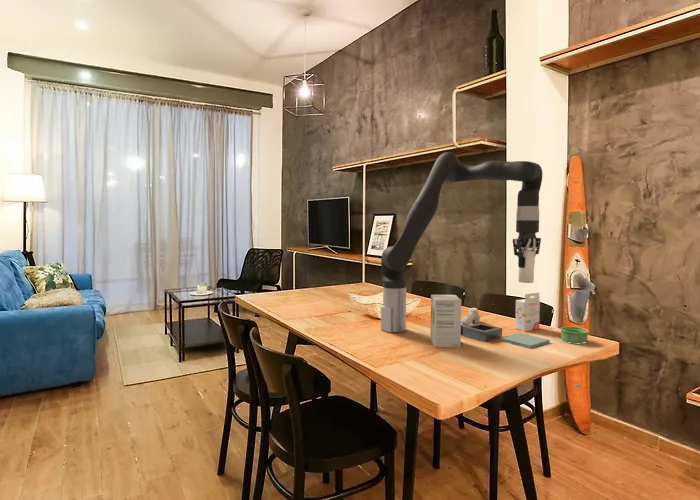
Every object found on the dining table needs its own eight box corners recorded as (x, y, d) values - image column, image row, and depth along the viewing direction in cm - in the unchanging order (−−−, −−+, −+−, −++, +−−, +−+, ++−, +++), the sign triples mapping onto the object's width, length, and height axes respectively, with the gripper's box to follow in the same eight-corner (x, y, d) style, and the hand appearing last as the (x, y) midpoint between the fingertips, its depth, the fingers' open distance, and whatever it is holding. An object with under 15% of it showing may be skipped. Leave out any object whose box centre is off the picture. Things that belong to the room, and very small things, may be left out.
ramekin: (575, 346, 152) (576, 333, 151) (554, 339, 160) (554, 327, 159) (594, 343, 155) (594, 331, 155) (572, 336, 163) (572, 325, 163)
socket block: (484, 341, 157) (485, 332, 156) (462, 335, 165) (463, 326, 165) (502, 337, 162) (502, 328, 162) (480, 331, 170) (480, 322, 170)
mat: (530, 348, 149) (530, 345, 149) (499, 340, 158) (500, 337, 158) (549, 342, 156) (549, 339, 155) (519, 335, 165) (519, 332, 165)
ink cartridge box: (529, 326, 179) (530, 290, 178) (539, 328, 175) (540, 292, 174) (514, 328, 175) (515, 292, 174) (524, 331, 171) (525, 294, 170)
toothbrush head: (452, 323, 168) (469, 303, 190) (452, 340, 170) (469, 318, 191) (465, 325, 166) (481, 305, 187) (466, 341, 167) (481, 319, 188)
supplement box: (429, 339, 160) (430, 294, 159) (455, 339, 160) (456, 294, 158) (434, 347, 150) (434, 299, 149) (461, 347, 150) (461, 299, 149)
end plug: (528, 283, 152) (529, 251, 151) (515, 281, 156) (516, 251, 155) (536, 282, 155) (537, 251, 154) (523, 280, 159) (524, 250, 158)
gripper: (525, 219, 147) (524, 269, 148) (549, 219, 155) (547, 266, 156) (505, 219, 153) (504, 267, 154) (529, 219, 161) (528, 264, 162)
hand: (526, 266), depth 155 cm, fingers closed on end plug, 5 cm apart
